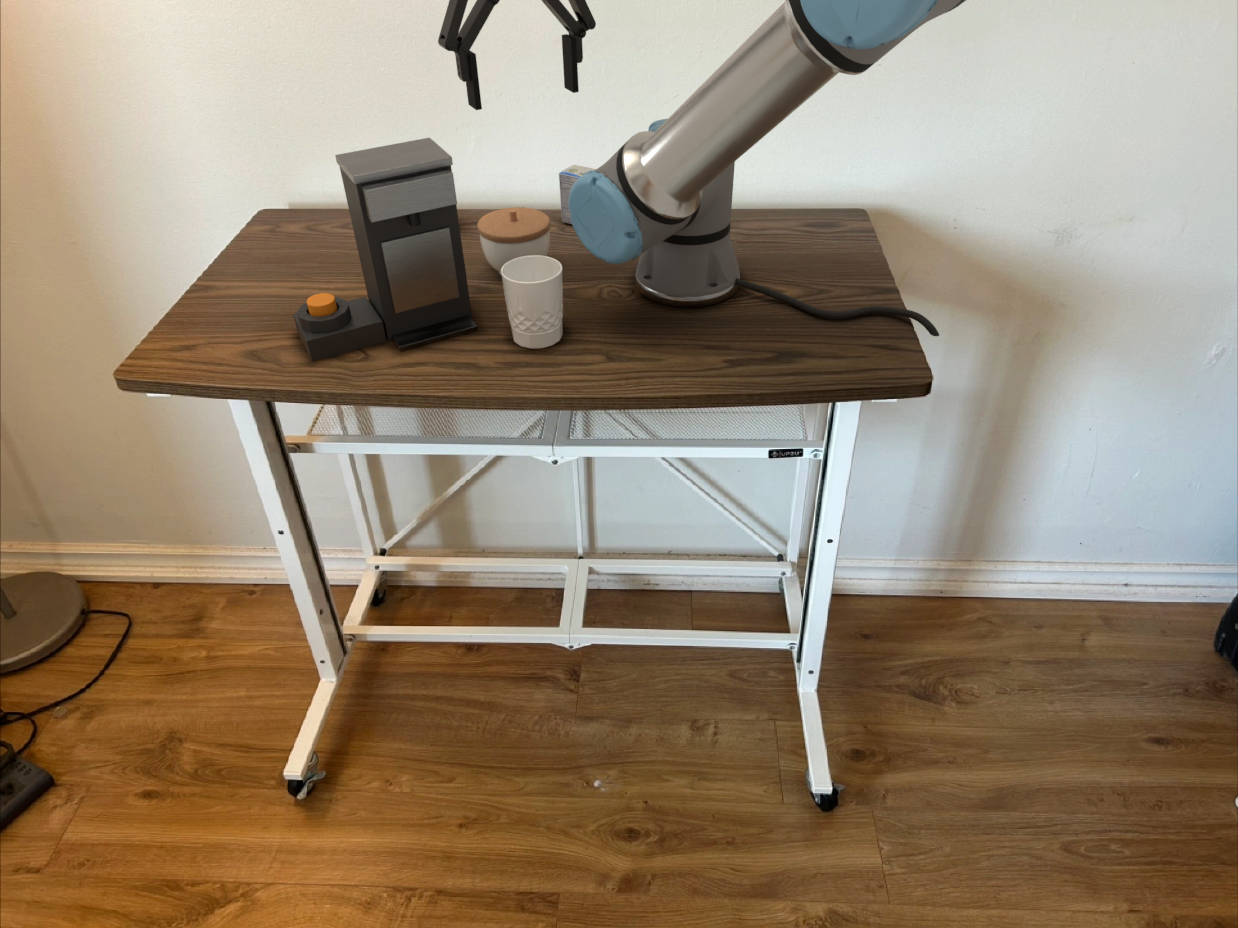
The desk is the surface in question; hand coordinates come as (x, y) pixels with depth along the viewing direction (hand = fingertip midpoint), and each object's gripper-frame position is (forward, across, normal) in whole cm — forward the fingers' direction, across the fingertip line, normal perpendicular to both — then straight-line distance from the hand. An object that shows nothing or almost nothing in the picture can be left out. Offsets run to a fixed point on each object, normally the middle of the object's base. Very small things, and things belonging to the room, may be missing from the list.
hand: (524, 98), depth 115 cm
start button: (+22, +31, 0) cm, 38 cm away
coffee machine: (+27, +18, +2) cm, 32 cm away
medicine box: (+27, -16, -16) cm, 35 cm away
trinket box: (+27, +1, -6) cm, 28 cm away
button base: (+27, +30, 0) cm, 40 cm away
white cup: (+27, +6, +13) cm, 31 cm away
